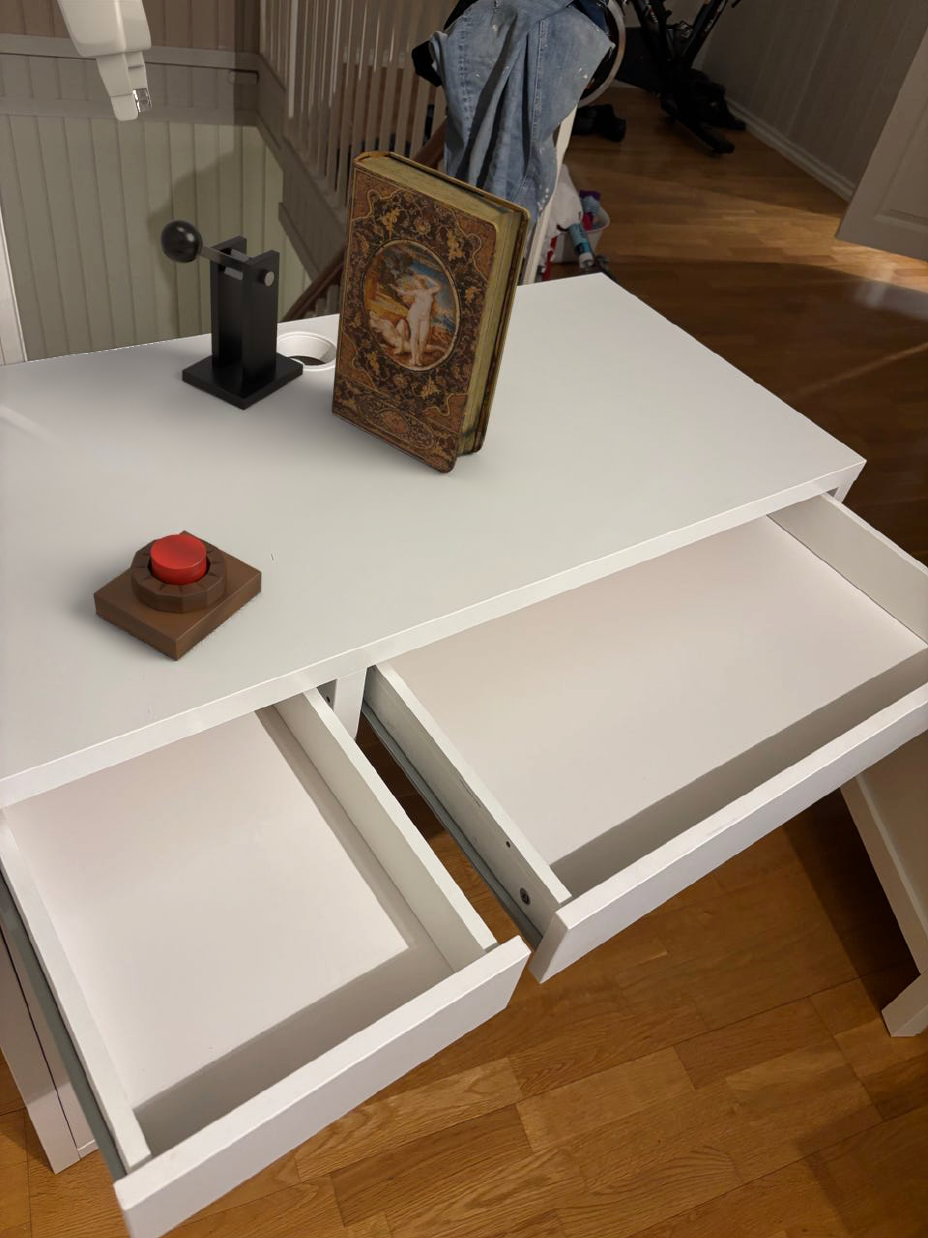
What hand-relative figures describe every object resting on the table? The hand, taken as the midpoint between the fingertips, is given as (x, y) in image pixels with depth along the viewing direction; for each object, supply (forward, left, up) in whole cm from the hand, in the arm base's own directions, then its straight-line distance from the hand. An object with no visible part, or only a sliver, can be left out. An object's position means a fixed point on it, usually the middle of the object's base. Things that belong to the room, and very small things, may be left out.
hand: (135, 115), depth 81 cm
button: (-24, -25, -21) cm, 41 cm away
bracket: (+6, -7, -25) cm, 26 cm away
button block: (-24, -25, -25) cm, 43 cm away
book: (+9, -25, -25) cm, 36 cm away
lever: (0, -7, -12) cm, 14 cm away
